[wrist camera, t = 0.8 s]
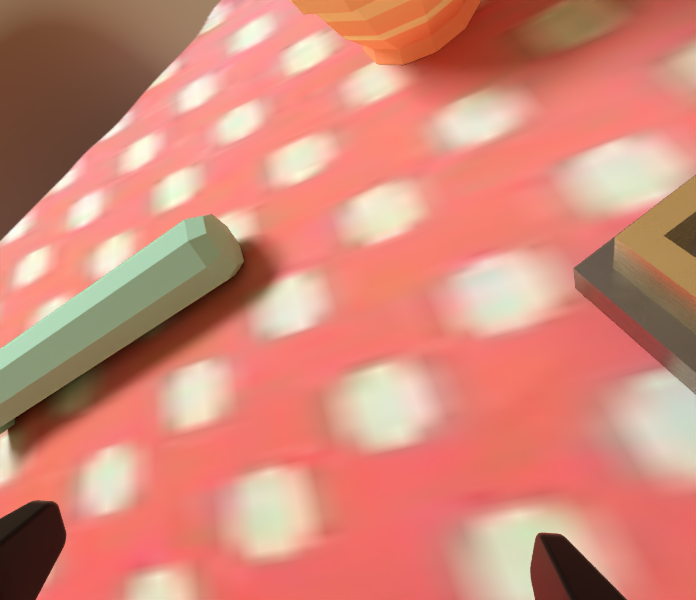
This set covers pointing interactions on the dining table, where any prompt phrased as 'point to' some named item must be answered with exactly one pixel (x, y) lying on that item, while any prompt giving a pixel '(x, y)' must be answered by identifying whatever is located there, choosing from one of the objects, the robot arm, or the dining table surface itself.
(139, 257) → the pale green faceted rod
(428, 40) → the potted cactus
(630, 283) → the open square box
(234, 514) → the dining table surface
